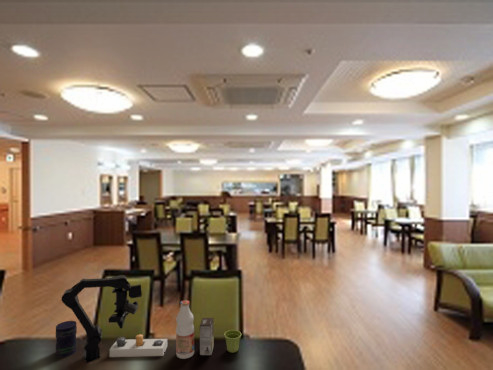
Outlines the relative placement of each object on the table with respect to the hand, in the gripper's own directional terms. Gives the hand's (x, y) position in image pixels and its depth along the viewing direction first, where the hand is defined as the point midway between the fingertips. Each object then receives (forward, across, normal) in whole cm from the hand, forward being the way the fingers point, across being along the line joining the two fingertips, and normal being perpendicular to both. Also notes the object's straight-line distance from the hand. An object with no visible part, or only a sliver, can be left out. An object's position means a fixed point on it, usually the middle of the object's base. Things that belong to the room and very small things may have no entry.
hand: (121, 328), depth 163 cm
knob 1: (+10, 0, 0) cm, 10 cm away
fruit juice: (+13, -3, -35) cm, 38 cm away
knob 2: (+11, 0, -20) cm, 23 cm away
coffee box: (+13, 0, -47) cm, 48 cm away
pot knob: (+9, 0, -10) cm, 14 cm away
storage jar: (+13, +1, +30) cm, 33 cm away
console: (+13, 0, -10) cm, 16 cm away
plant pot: (+12, 0, -61) cm, 62 cm away
